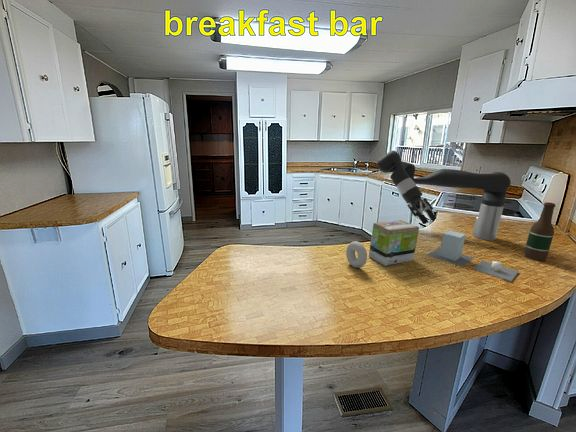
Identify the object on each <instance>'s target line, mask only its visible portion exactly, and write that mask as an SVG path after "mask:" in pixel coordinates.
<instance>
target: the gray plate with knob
mask: <svg viewBox="0 0 576 432" xmlns="http://www.w3.org/2000/svg"><path fill="white" fill-rule="evenodd" d="M472 270H473V271H477V272H479V273H483V274H486V275H490V276H491V277H494V278H495V277H496V278H499V279H502V280H503V281H505V282H508V281H509V282H508V283H512V282H513V281H514V279H515V277H516V276H517V275H518V274H519V272H520V271H519V270H516V269H513V268H509V267H505V266H503V263H502V262H501V261H497V260H492V262H489V261H485V260H481V261H479V263H477V264H476V265H475V266H474V267H473V268H472ZM511 281H512V282H511Z"/></svg>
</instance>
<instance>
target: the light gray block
mask: <svg viewBox="0 0 576 432" xmlns="http://www.w3.org/2000/svg"><path fill="white" fill-rule="evenodd" d="M466 235H467V234H466V233H462V232H457V231H453V230H450V229H449V230H447V231H445V232H443V233H442V238H441V241H440V247H439V248H440V252H439V256H441V257H444V258H447V259H450V260H454V261H456V260H457V259H459V258H460V257H461V254H463V251H464V250H463V249H464V245H465V240H466Z"/></svg>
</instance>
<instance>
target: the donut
mask: <svg viewBox="0 0 576 432" xmlns="http://www.w3.org/2000/svg"><path fill="white" fill-rule="evenodd" d="M345 251H346V253H345V254H346V259H347V262H348V263H349V265H351V266H352V267H353V268H355V269H361V268H363V267H365V265H366V264H367V261H368V253H367V249H366V248H365V246H364V244H362V243H361V242H360V241H357V240H355V241H354V240H353V241H351V242H349V244H348V245H347V247H346V250H345ZM356 253H357V256H356Z"/></svg>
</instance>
